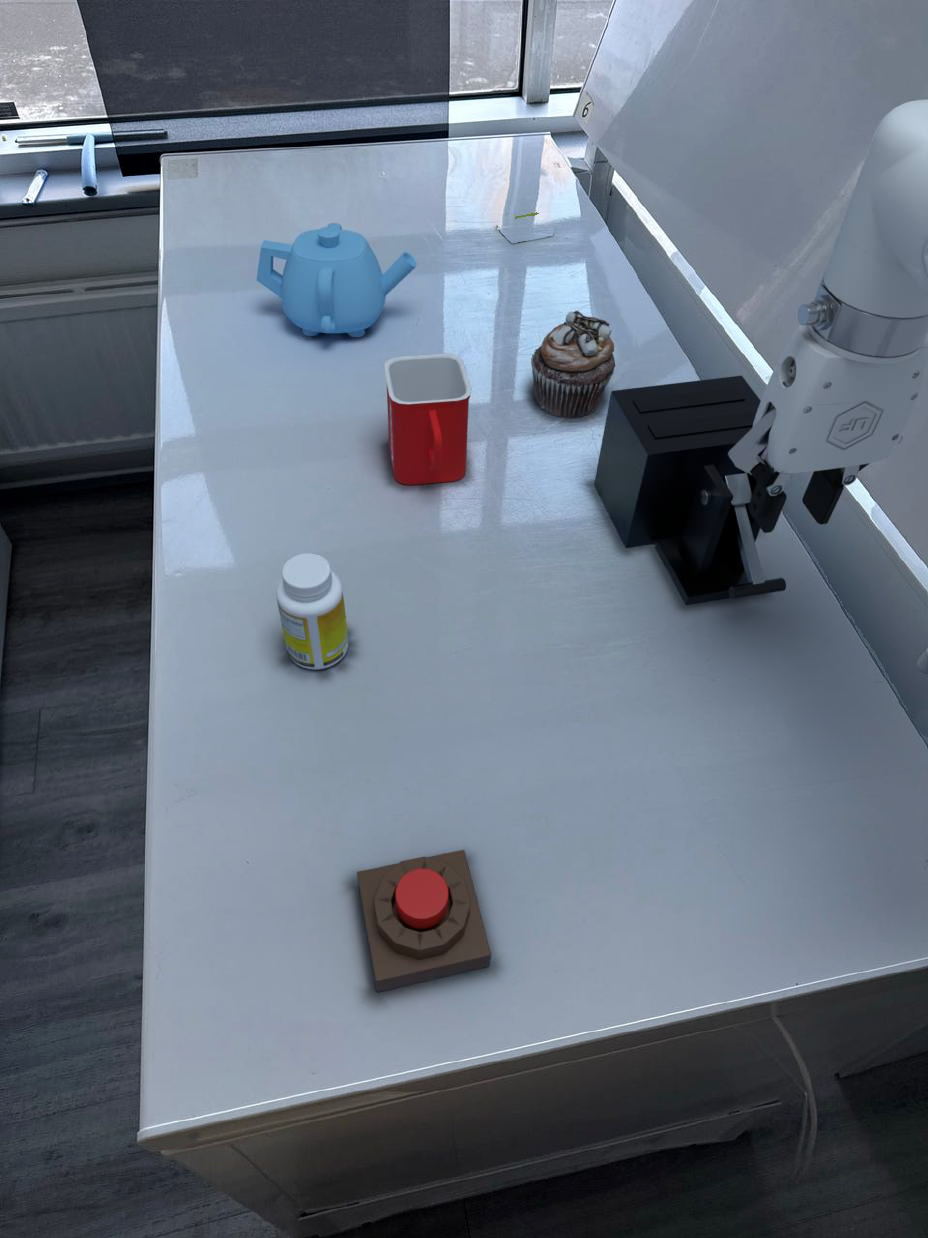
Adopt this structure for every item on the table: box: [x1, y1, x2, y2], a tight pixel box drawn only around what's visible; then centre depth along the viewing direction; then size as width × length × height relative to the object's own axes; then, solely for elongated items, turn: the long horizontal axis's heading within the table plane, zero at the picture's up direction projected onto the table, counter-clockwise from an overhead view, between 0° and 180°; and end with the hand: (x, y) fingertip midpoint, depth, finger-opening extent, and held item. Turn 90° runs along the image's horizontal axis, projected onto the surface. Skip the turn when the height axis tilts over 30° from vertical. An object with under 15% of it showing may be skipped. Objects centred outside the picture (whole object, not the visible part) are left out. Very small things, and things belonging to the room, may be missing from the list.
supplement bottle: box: [275, 553, 349, 670], centre depth 77 cm, size 6×6×10 cm
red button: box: [395, 868, 449, 929], centre depth 61 cm, size 4×4×2 cm
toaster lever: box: [722, 473, 787, 600], centre depth 81 cm, size 11×5×2 cm, turn 14°
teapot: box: [256, 222, 418, 338], centre depth 112 cm, size 20×17×12 cm
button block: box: [356, 849, 492, 993], centre depth 63 cm, size 8×8×4 cm
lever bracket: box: [655, 465, 761, 605], centre depth 85 cm, size 8×8×12 cm
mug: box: [383, 353, 472, 486], centre depth 93 cm, size 12×8×11 cm
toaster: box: [593, 375, 775, 548], centre depth 90 cm, size 10×14×12 cm
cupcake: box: [530, 310, 616, 419], centre depth 103 cm, size 10×10×10 cm
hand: (787, 515), depth 73 cm, fingers open, 4 cm apart
